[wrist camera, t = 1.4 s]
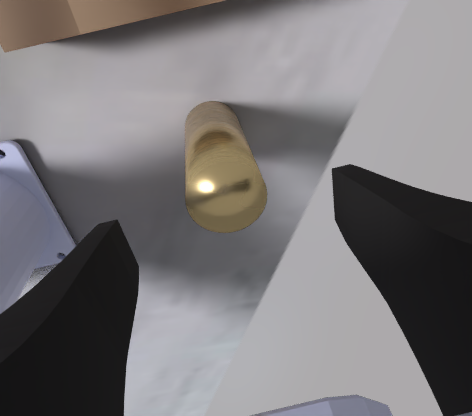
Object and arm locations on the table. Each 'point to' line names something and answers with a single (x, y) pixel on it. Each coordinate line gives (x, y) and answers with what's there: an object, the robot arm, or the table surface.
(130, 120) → the table surface
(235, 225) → the brass peg
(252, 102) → the table surface
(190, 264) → the table surface
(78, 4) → the socket block
